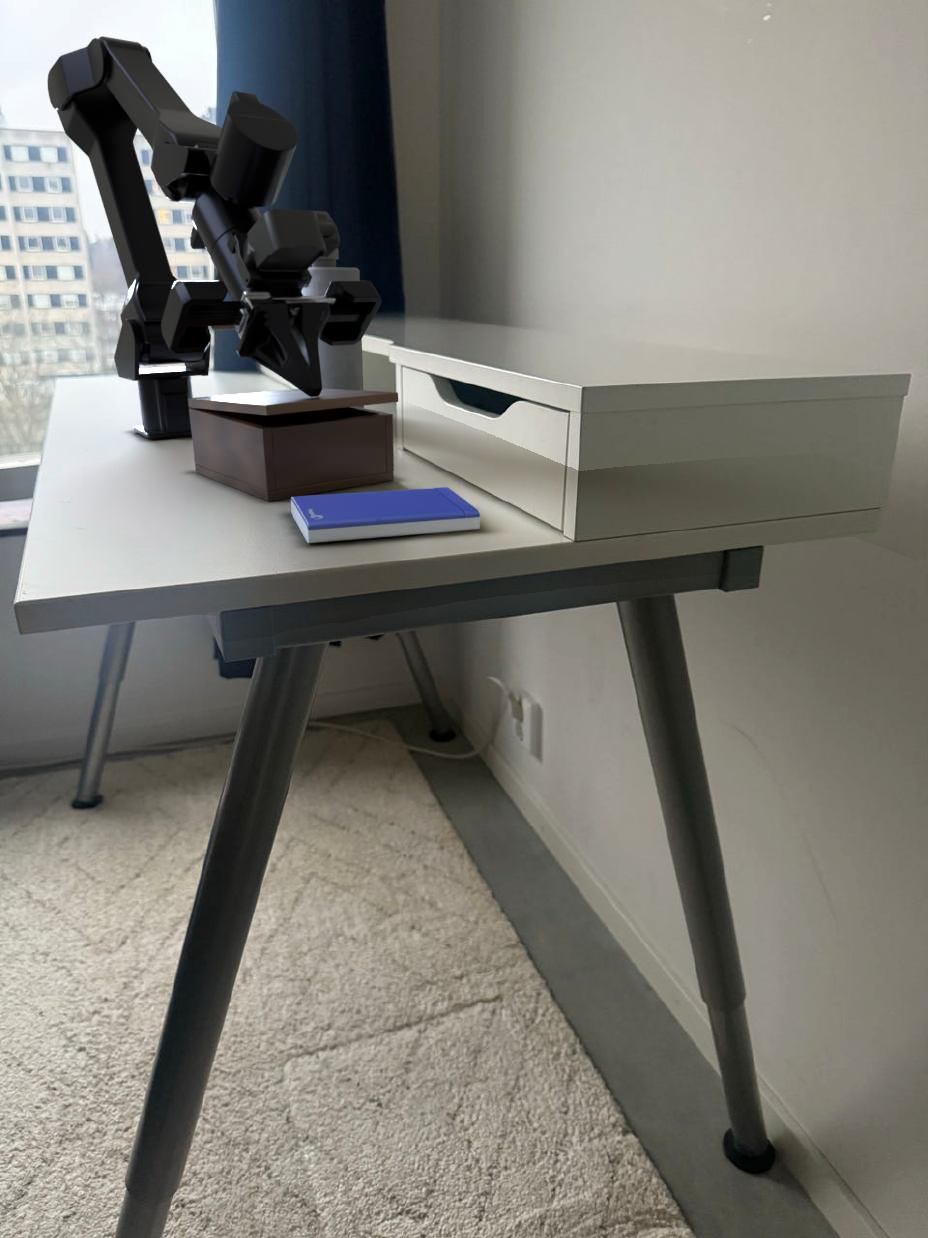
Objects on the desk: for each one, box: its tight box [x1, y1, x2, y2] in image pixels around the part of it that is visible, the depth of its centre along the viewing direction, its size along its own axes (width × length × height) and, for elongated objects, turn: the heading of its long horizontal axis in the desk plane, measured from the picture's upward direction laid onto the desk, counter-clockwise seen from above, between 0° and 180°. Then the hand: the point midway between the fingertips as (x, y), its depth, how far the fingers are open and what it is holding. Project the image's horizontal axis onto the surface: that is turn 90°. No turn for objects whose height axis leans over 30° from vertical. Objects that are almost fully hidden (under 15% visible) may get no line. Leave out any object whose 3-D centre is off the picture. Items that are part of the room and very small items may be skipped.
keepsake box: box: [189, 406, 395, 502], centre depth 77 cm, size 14×13×6 cm
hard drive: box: [290, 486, 481, 544], centre depth 64 cm, size 2×8×12 cm
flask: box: [301, 247, 365, 408], centre depth 105 cm, size 15×6×20 cm, turn 19°
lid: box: [188, 388, 399, 416], centre depth 75 cm, size 14×13×1 cm
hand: (316, 393), depth 72 cm, fingers closed
